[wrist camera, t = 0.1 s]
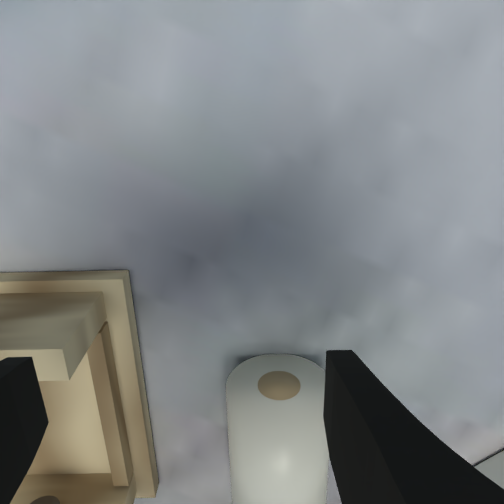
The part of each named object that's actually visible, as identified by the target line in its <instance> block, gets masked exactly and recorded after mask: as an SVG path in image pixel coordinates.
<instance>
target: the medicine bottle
mask: <svg viewBox="0 0 504 504" xmlns="http://www.w3.org/2000/svg"><path fill="white" fill-rule="evenodd" d="M474 467H475V468H476V469H477V470H478V471H480V472H481V473H482V474H484V475H485V476H486V477H488V478H489V479H490V480H492V481H493V482H495V483H496V484H497V485H499V486H500V487H501V488H503V489H504V450H503V451H502V452H500V453H498V454H496V455H494V456H493V457H491V458H489V459H487V460H485V461H484V462H482V463H480V464H478V465H476V466H474Z"/></svg>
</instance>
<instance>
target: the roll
mask: <svg viewBox="0 0 504 504" xmlns="http://www.w3.org/2000/svg"><path fill="white" fill-rule="evenodd" d="M324 390H325V371H324V370H323V369H322V368H321V367H320V366H318V365H317V364H315V363H314V362H312V361H310V360H308V359H306V358H303V357H300V356H296V355H291V354H267V355H260V356H256V357H253V358H250V359H248V360H246V361H244V362H242V363H241V364H239V365H238V366H237V367H236V368H235V369H234V370H233V371H232V372H231V373H230V375H229V377H228V379H227V382H226V405H227V423H228V441H229V459H230V477H231V495H232V504H326V499H327V483H328V467H329V451H328V445H327V439H326V432H325V426H324V419H323V410H324Z"/></svg>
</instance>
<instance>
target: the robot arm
mask: <svg viewBox="0 0 504 504" xmlns="http://www.w3.org/2000/svg"><path fill="white" fill-rule="evenodd" d="M323 419H324V426H325V432H326V439H327V445H328V451H329V457H330V461H331V465H332V468H333V472H334V476H335V480H336V483H337V487H338V491H339V494H340V498H341V502H342V504H504V489H503V488H501V487H500V486H499V485H497V484H496V483H495V482H493V481H492V480H490V479H489V478H488V477H486V476H485V475H484V474H482V473H481V472H480V471H478V470H477V469H476V468H475V467H473V466H472V465H471V464H470V463H468V462H467V461H466V460H464V459H463V458H462V457H461V456H459V455H458V454H457V453H455V452H454V451H453V450H452V449H451V448H449V447H448V446H447V445H446V444H445V443H443V442H442V441H441V440H440V439H439V438H438V437H437V436H435V435H434V434H433V433H432V432H431V431H430V430H429V429H428V428H427V427H425V426H424V425H423V424H422V423H421V422H420V421H419V420H418V419H417V418H416V417H415V416H414V415H413V414H412V413H411V412H410V411H409V410H408V409H407V408H406V407H405V406H404V405H403V404H402V403H401V402H400V401H399V400H398V399H397V398H396V397H395V396H394V395H393V394H392V393H391V392H390V391H389V390H388V389H387V388H386V387H385V386H384V385H383V384H382V383H381V382H380V381H379V379H378V378H377V377H376V376H375V375H374V374H373V373H372V372H371V371H370V370H369V368H368V367H367V366H366V365H365V364H364V363H363V362H362V361H361V359H360V358H359V357H358V356H357V355H356V354H355V353H354V352H353V351H352V350H329V351H326V371H325V390H324V410H323ZM48 423H49V421H48V417H47V413H46V409H45V405H44V401H43V397H42V393H41V390H40V386H39V382H38V378H37V374H36V370H35V366H34V363H33V359H32V357H7V358H5V359H3V360H1V361H0V504H10V503H11V501H12V499H13V497H14V496H15V494H16V492H17V490H18V488H19V487H20V485H21V483H22V481H23V479H24V477H25V476H26V474H27V472H28V470H29V468H30V466H31V465H32V463H33V460H34V458H35V456H36V453H37V451H38V449H39V446H40V444H41V441H42V439H43V436H44V434H45V431H46V428H47V426H48Z"/></svg>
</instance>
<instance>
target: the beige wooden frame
mask: <svg viewBox="0 0 504 504" xmlns="http://www.w3.org/2000/svg"><path fill="white" fill-rule="evenodd" d="M7 357H32V359H33V363H34V366H35V370H36V374H37V378H38V382H39V386H40V390H41V393H42V397H43V401H44V405H45V409H46V413H47V417H48V421H49V423H48V426H47V428H46V431H45V434H44V436H43V439H42V441H41V444H40V446H39V449H38V451H37V453H36V456H35V458H34V460H33V463H32V465H31V466H30V468H29V470H28V472H27V474H26V476H25V477H24V479H23V481H22V483H21V485H20V487H19V488H18V490H17V492H16V494H15V496H14V497H13V499H12V501H11V503H10V504H133V503H134V499H135V498H155V497H156V493H157V488H158V484H159V480H158V473H157V466H156V459H155V452H154V445H153V438H152V431H151V424H150V417H149V410H148V403H147V397H146V390H145V383H144V376H143V369H142V362H141V355H140V348H139V341H138V334H137V327H136V320H135V313H134V306H133V299H132V292H131V285H130V278H129V271H128V270H108V271H60V272H11V273H0V361H1V360H3V359H5V358H7Z"/></svg>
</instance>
